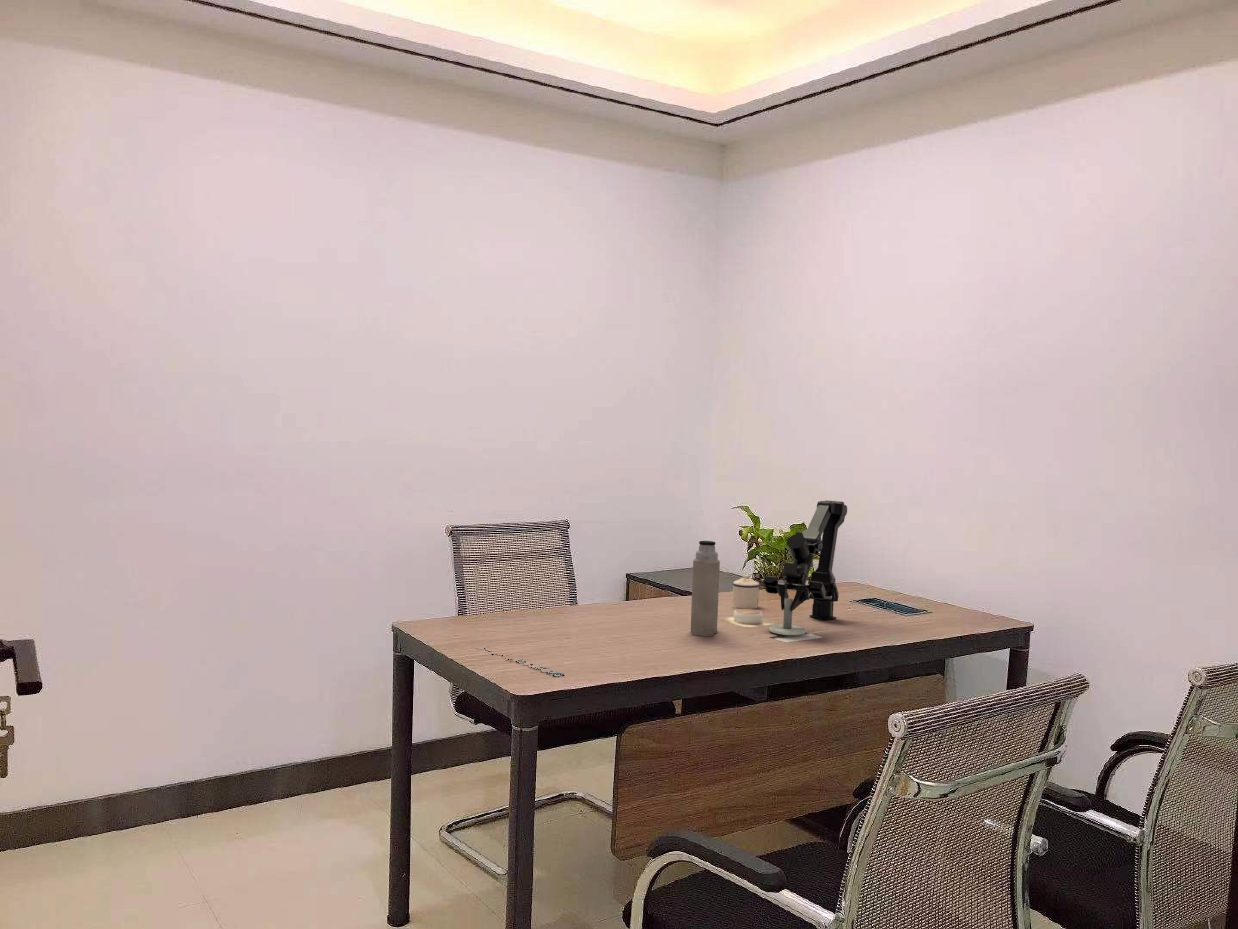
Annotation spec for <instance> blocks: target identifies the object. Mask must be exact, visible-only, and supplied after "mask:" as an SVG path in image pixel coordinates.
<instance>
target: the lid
mask: <svg viewBox="0 0 1238 929" xmlns="http://www.w3.org/2000/svg"><path fill="white" fill-rule="evenodd" d="M793 600H794V598H790V597H788V598H785V599H784V610H783V624H780V623H779V624H773V625H768V626H769V627H768V631H769V632H771V633H774V634H776V635H777V634H778V635H781V636H782V635H802V634H805V633H807V630H806V627H805V628H804V627H802V626H800V625H795V624H793V611H791V610H790V608H791V605H792V602H793Z"/></svg>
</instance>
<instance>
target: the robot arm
mask: <svg viewBox="0 0 1238 929" xmlns="http://www.w3.org/2000/svg"><path fill="white" fill-rule="evenodd" d="M847 514H848V506H847V504H845V502H844V501H838V500H837V501H836V500H820V501H817V504H816V509H815V512H814V514H813V516H812V517H811V520H810V522H809V525H808V526H807V529H804V530H802V531H796V532H795V534H793V535H790V536H789V537H788V538H787V540H786V545H787V548H788V549H787V550H788V551H789V554H790V557H791V558H792V563H790V562H784V563H783V567H782V572H781V574H783V575H784V576H783V579H784V580H782V579H779V578H778V576H771V575H765V576H763V579H762V584H763V587H764V589H765V592H766V593H768V594H773V595H777V594H778V596H779V597H780V608H781V611H784V599H785V598H790V597H789V594H788V593H789V592H788V591H794V592H795V594H794V597H793V602H792V605H791V608H790V610H791V611H792V612H793V611H795V609H797V608H798V607H799V606H800V605H801V604H803V603H804V602H806V601H810V600H812V601H813V602H812V610H811V612H812V613H811V614H809V618H813V619H818V620H820V619H821V621H827V619H828V620H835V619H837V616H834V602H839V598H840V597H839V595H840V594H839V590H838V588H837V585H836V584H837V583H836V577H835V576H834V572H833V568H834V567H833V565H834V559H835V552H836V545H837V544H836V543H837V539H838V538H837V537H838V530H839V528H840V527H841V526H842V525H843V524H844V523H845V518H846V516H847ZM813 555H819V558H818V563H817V564H818V565H817V567H816V569H815V571H812V572H811V574H810V571H811V568H812V567H814V557H813ZM809 574H810V576H809ZM809 577H810V578H809ZM809 579H810V580H809ZM808 581H809V582H808ZM807 582H808V584H806V583H807Z"/></svg>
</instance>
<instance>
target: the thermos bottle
mask: <svg viewBox="0 0 1238 929" xmlns="http://www.w3.org/2000/svg"><path fill="white" fill-rule="evenodd" d="M698 544H699V546H698V550H697V551H696V552H695V555H694V556H695V558H693V562H692V580H691V582H692V587H691V614H690V633H691V635H694V634H695V635H694V636H699V637H712V636H714V635H716V634H717V632H718V619H719V618H718V613H719V612H718V611H719V592H720V590H719V589H720V588H719V587H720V567H721V564H720V563H721V562H720V561H721V560H719V559H718V556H719V554H718V552H717V551H716V541H712V540H700V541H698Z"/></svg>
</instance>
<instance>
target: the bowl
mask: <svg viewBox="0 0 1238 929" xmlns="http://www.w3.org/2000/svg"><path fill="white" fill-rule="evenodd" d="M733 617H734V621H735V622H737V623H742V624H760V623H762V619H763V611H761V610H758V609H743V608H738V609H734V610H733Z"/></svg>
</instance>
